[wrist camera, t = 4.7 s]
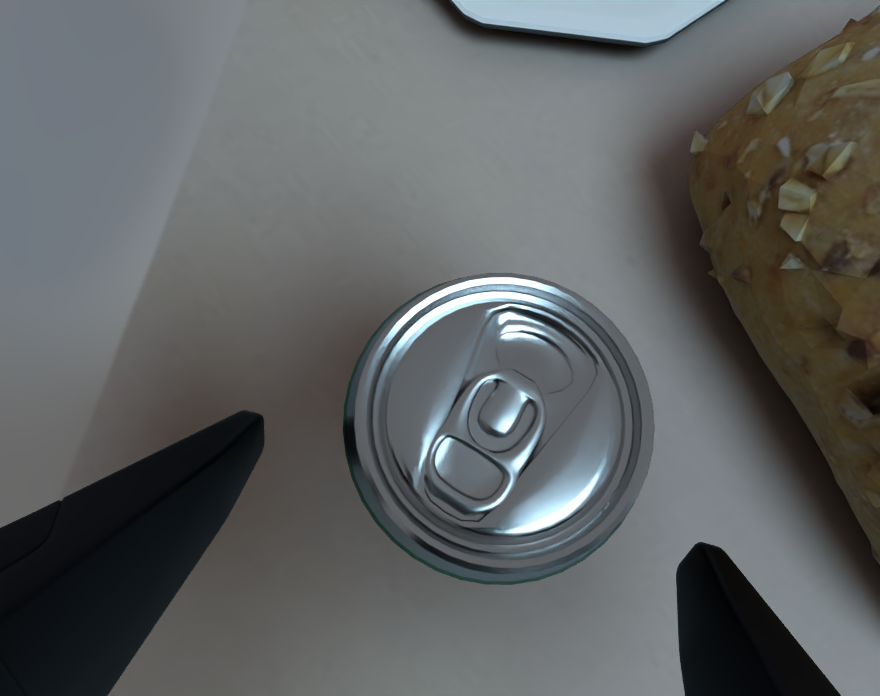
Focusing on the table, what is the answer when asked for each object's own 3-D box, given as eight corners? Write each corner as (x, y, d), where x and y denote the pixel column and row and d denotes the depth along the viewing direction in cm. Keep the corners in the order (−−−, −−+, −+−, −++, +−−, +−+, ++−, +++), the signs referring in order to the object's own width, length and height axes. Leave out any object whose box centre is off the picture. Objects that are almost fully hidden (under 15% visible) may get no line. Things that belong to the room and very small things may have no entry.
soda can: (556, 418, 19) (743, 356, 7) (490, 535, 18) (575, 690, 6) (445, 351, 19) (447, 191, 8) (376, 461, 18) (255, 470, 7)
